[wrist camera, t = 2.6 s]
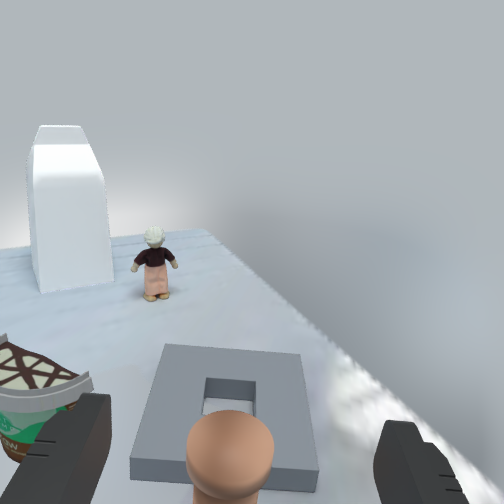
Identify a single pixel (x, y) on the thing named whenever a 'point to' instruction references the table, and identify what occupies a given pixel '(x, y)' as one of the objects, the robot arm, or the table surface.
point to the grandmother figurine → (155, 264)
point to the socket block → (231, 387)
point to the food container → (32, 395)
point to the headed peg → (228, 458)
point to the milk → (67, 211)
